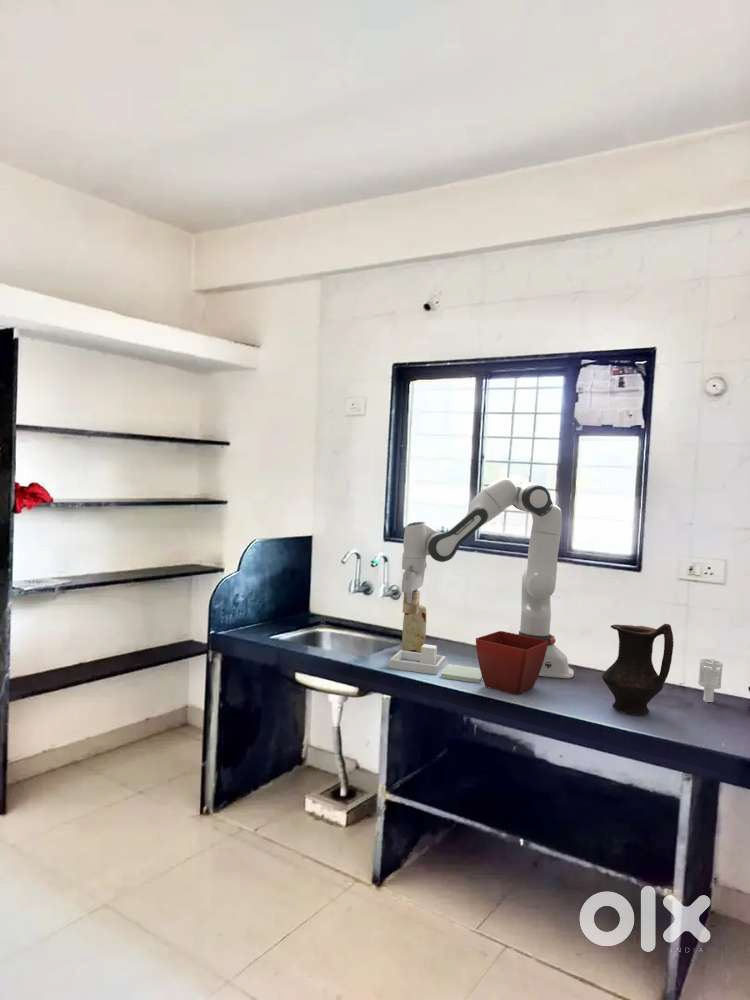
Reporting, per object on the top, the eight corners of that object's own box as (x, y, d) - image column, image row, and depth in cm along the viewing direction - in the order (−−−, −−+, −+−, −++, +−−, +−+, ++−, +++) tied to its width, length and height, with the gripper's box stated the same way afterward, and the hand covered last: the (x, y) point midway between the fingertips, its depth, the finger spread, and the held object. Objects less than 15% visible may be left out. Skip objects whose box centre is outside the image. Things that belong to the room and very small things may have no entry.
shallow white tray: (445, 664, 263) (445, 656, 263) (436, 674, 248) (437, 666, 248) (399, 657, 268) (400, 650, 268) (388, 667, 253) (389, 659, 253)
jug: (588, 708, 221) (595, 615, 220) (615, 697, 234) (622, 610, 233) (653, 728, 206) (661, 628, 205) (678, 715, 219) (685, 622, 218)
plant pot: (522, 700, 224) (526, 649, 224) (471, 686, 236) (474, 638, 235) (546, 688, 240) (549, 640, 239) (496, 676, 251) (500, 630, 251)
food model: (398, 652, 276) (401, 603, 275) (404, 649, 282) (407, 601, 282) (421, 656, 272) (424, 606, 271) (427, 653, 278) (430, 604, 278)
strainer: (700, 703, 233) (704, 659, 233) (694, 697, 240) (697, 654, 240) (722, 705, 232) (726, 661, 232) (715, 699, 239) (718, 656, 239)
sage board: (485, 673, 254) (485, 669, 254) (480, 683, 241) (480, 679, 240) (447, 668, 258) (448, 664, 258) (440, 677, 244) (441, 673, 244)
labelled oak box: (418, 612, 260) (419, 590, 260) (415, 614, 256) (416, 592, 255) (405, 610, 262) (407, 589, 262) (402, 612, 257) (403, 590, 257)
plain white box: (435, 666, 259) (437, 645, 258) (433, 670, 254) (434, 648, 254) (422, 665, 260) (424, 644, 260) (419, 668, 255) (421, 646, 255)
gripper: (415, 568, 247) (413, 606, 248) (427, 563, 267) (425, 598, 267) (398, 567, 249) (396, 604, 249) (411, 561, 269) (409, 596, 269)
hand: (411, 601), depth 259 cm, fingers closed on labelled oak box, 5 cm apart
